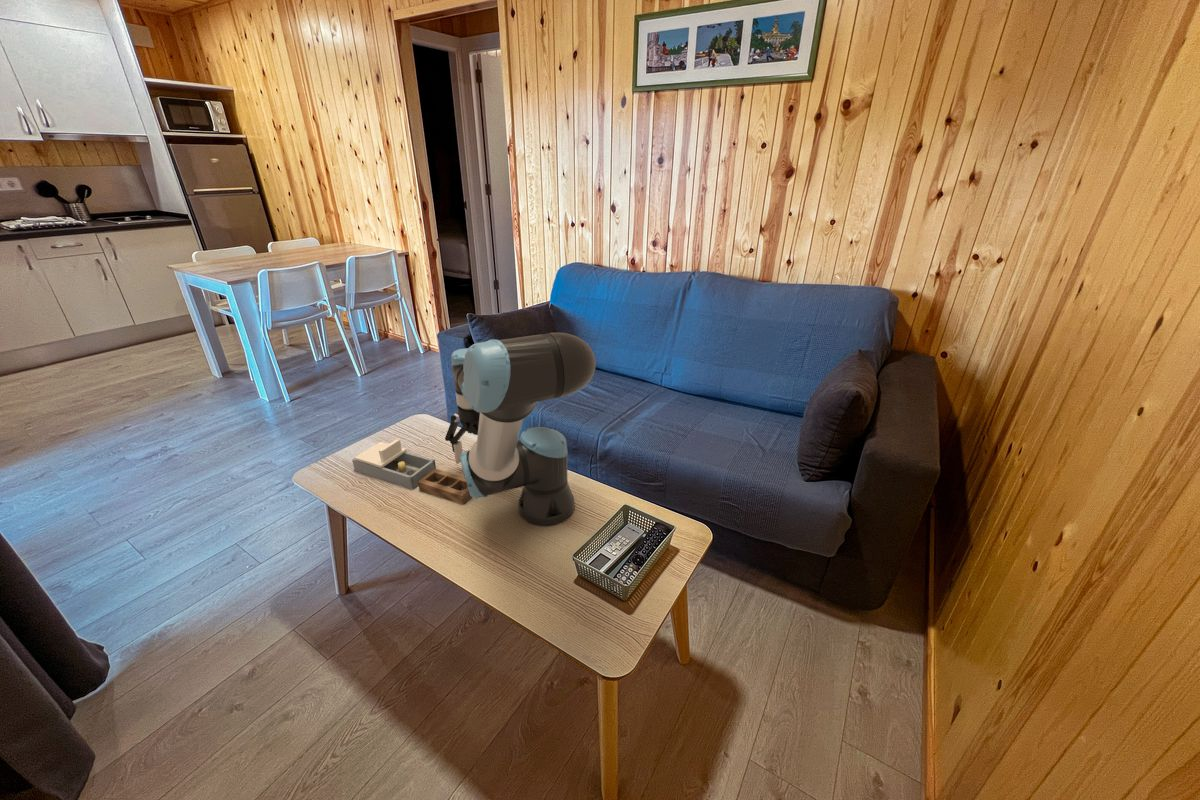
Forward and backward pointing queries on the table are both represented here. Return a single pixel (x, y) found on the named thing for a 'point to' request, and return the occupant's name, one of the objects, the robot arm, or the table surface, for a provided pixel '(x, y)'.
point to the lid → (381, 453)
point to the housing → (400, 470)
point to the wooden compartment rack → (440, 487)
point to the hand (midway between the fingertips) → (478, 466)
